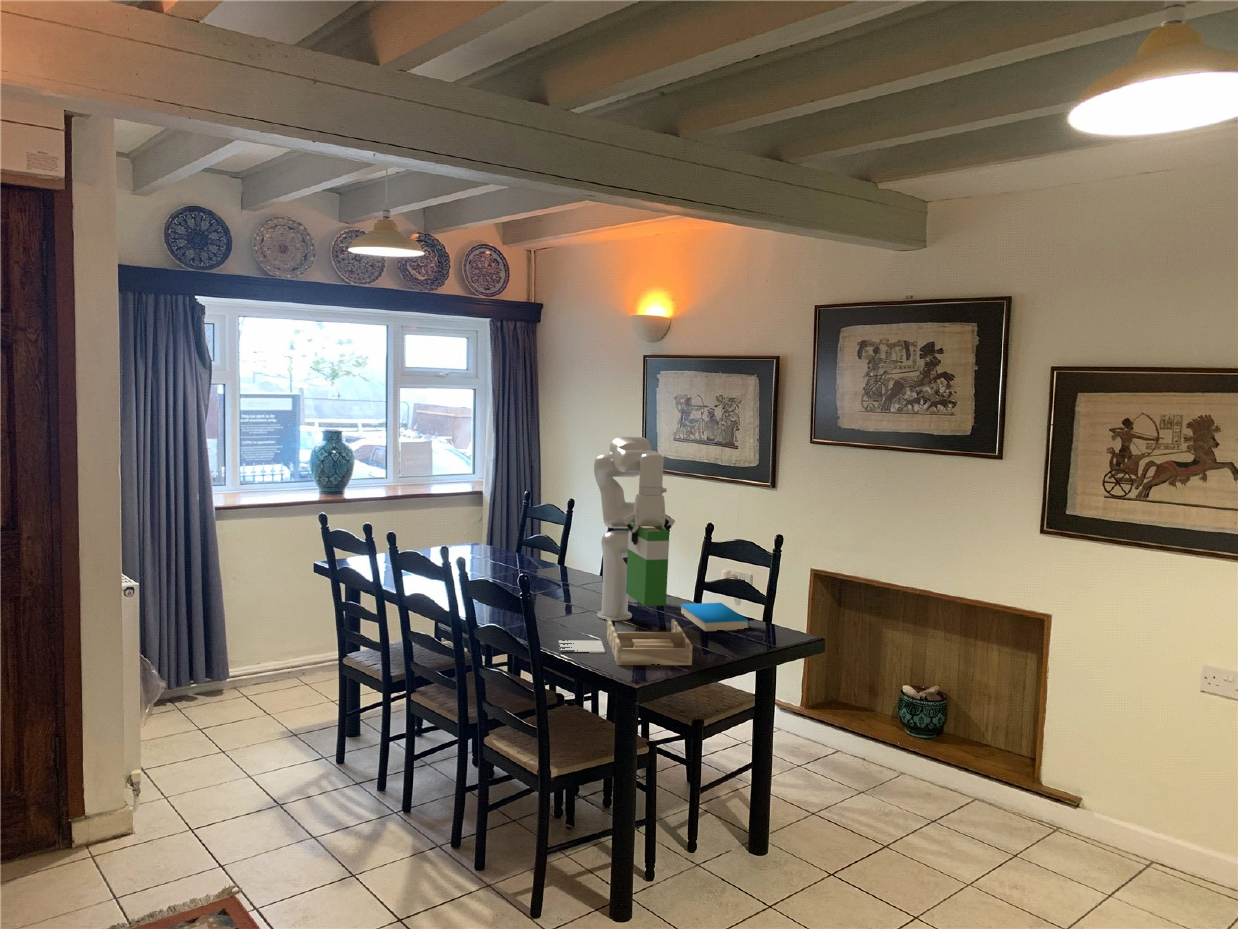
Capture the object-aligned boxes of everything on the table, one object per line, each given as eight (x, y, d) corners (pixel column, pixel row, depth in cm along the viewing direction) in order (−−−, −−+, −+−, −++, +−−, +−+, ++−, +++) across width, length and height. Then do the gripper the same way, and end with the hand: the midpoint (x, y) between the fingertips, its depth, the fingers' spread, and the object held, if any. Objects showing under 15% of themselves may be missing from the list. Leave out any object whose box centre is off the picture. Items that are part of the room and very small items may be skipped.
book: (705, 621, 315) (679, 603, 338) (704, 633, 315) (679, 614, 339) (750, 619, 320) (722, 601, 343) (749, 631, 320) (721, 612, 344)
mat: (558, 641, 296) (558, 640, 296) (601, 642, 297) (601, 640, 297) (560, 653, 284) (560, 651, 284) (604, 653, 285) (604, 651, 285)
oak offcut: (631, 648, 283) (632, 639, 283) (669, 648, 285) (669, 639, 284) (634, 654, 277) (635, 644, 277) (673, 654, 279) (673, 644, 278)
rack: (606, 636, 304) (607, 615, 304) (673, 636, 307) (674, 616, 307) (617, 665, 274) (618, 642, 273) (691, 665, 277) (692, 642, 276)
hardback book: (626, 592, 303) (629, 522, 301) (646, 591, 306) (649, 521, 303) (644, 606, 287) (647, 531, 284) (665, 605, 289) (669, 531, 287)
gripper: (674, 490, 297) (672, 542, 299) (622, 489, 295) (620, 541, 297) (679, 493, 290) (676, 547, 292) (625, 492, 288) (622, 546, 289)
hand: (648, 544), depth 294 cm, fingers closed on hardback book, 8 cm apart
